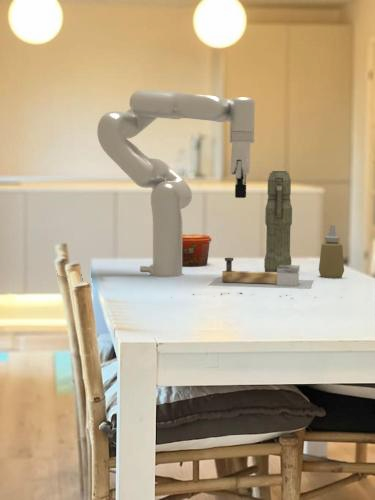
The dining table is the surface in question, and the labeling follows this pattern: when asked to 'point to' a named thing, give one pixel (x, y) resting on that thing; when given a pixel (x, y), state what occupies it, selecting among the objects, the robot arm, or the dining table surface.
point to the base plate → (261, 284)
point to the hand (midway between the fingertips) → (240, 197)
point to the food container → (195, 250)
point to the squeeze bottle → (331, 256)
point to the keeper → (287, 275)
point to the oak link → (247, 275)
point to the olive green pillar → (278, 221)
